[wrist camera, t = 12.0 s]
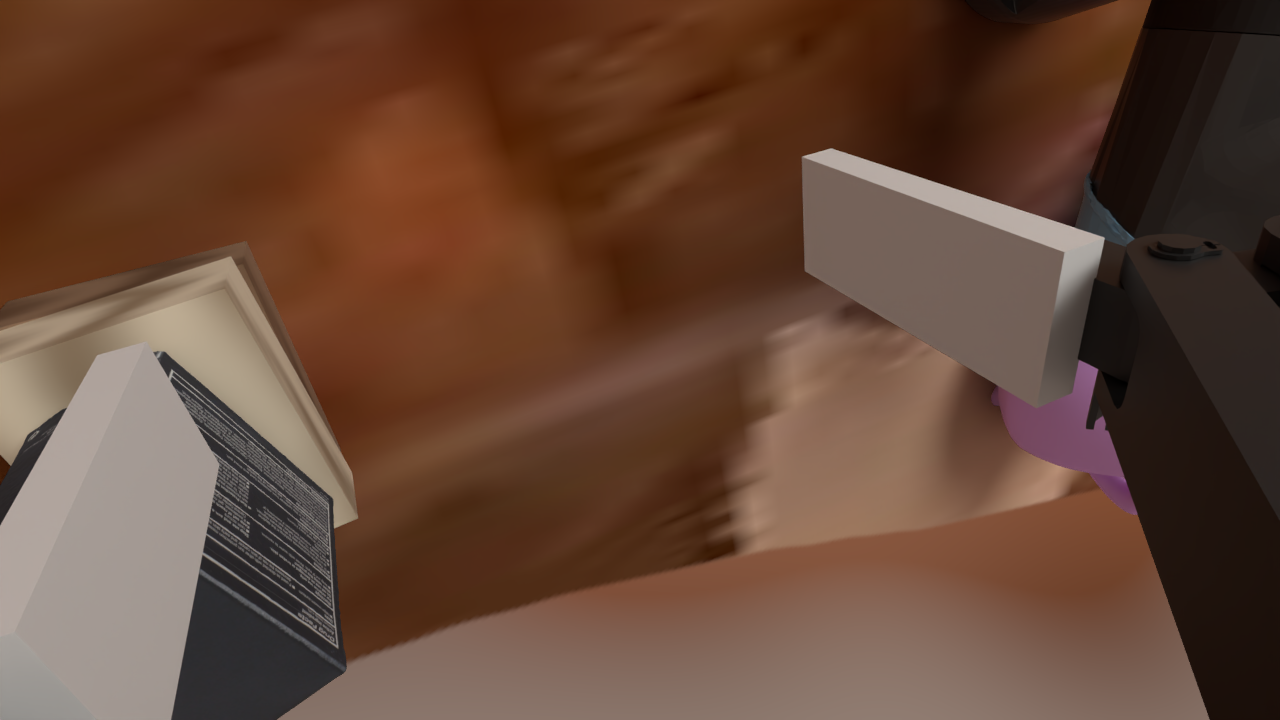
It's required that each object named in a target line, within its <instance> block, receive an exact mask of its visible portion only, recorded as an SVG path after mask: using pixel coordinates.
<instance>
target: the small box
mask: <svg viewBox="0 0 1280 720" xmlns="http://www.w3.org/2000/svg"><path fill="white" fill-rule="evenodd" d="M153 353H154V355H155V356H156V358H157V360H158V361H159V363H160V365H161V366H162V368H163V370H164V371H165V373H166V375H167V377H168V378H169V380H170V382H171V383H172V385H173V387H174V388H175V390H176V392H177V393H178V395H179V397H180V398H181V400H182V402H183V404H184V405H185V407H186V409H187V410H188V412H189V414H190V415H191V417H192V419H193V420H194V422H195V424H196V426H197V427H198V429H199V431H200V432H201V434H202V436H203V437H204V439H205V441H206V442H207V444H208V446H209V448H210V449H211V451H212V453H213V454H214V456H215V458H216V459H217V461H218V463H219V469H218V474H217V480H216V485H215V490H214V496H213V501H212V506H211V511H210V517H209V522H208V527H207V532H206V538H205V543H204V548H203V554H202V559H201V564H200V569H199V575H198V580H197V585H196V591H195V596H194V601H193V606H192V612H191V617H190V622H189V627H188V633H187V638H186V643H185V649H184V654H183V659H182V664H181V670H180V675H179V680H178V686H177V691H176V696H175V701H174V707H173V712H172V717H171V720H277V719H278V718H279V717H281V716H282V715H284V714H285V713H287V712H288V711H290V710H291V709H292V708H294V707H295V706H297V705H298V704H299V703H301V702H302V701H304V700H305V699H307V698H308V697H309V696H311V695H312V694H314V693H315V692H317V691H318V690H319V689H321V688H322V687H324V686H325V685H326V684H328V683H329V682H331V681H332V680H334V679H335V678H337V677H338V676H340V675H342V674H343V673H344V672H345V671H346V667H347V666H346V656H345V651H344V648H343V638H342V631H341V621H340V610H339V596H338V594H339V591H338V581H337V566H336V550H335V536H334V513H333V506H334V501H333V498H332V497H331V496H330V495H328V494H327V493H326V492H325V491H324V490H323V489H322V488H321V487H319V486H318V485H317V484H316V483H315V482H314V481H313V480H312V479H311V478H309V477H308V476H307V475H306V474H305V473H303V472H302V471H301V470H300V469H299V468H298V467H297V466H295V465H294V464H293V463H292V462H291V461H290V460H289V459H288V458H287V457H286V456H285V455H283V454H282V453H281V452H279V451H278V450H277V449H276V448H275V447H274V446H273V445H272V444H271V443H269V442H268V441H267V440H266V439H265V438H263V437H262V436H261V435H260V434H259V433H258V432H257V431H255V430H254V429H253V428H252V427H251V426H250V425H249V424H248V423H246V422H245V421H244V420H243V419H242V418H241V417H240V416H238V415H237V414H236V413H235V412H234V411H233V410H231V409H230V408H229V407H228V406H227V405H226V404H225V403H224V402H222V401H221V400H220V399H219V398H218V397H217V396H215V395H214V394H213V393H212V392H211V391H210V390H209V389H208V388H206V387H205V386H204V385H203V384H202V383H201V382H199V381H198V380H197V379H196V378H195V377H194V376H192V375H191V374H190V373H189V372H188V371H186V370H185V369H184V368H183V367H182V366H181V365H179V364H178V363H177V362H176V361H175V360H173V359H172V358H171V357H170V356H169V355H168V354H167V353H166V352H164V351H157V352H153ZM66 409H67V408H65V409H62V410H60V411H59V412H58V413H56V414H55V415H54V416H52V417H51V418H49V419H48V420H47V421H46V422H44V423H43V424H42V425H41V426H40V427H38V428H37V429H35V430H34V431H32V432H30V433H29V434H28V435H27V437H26V439H25V441H24V443H23V445H22V447H21V449H20V450H19V452H18V454H17V456H16V458H15V460H14V462H13V463H12V465H11V467H10V469H9V471H8V473H7V474H6V476H5V478H4V480H3V481H2V483H1V485H0V525H1V523H2V522H3V520H4V518H5V516H6V514H7V513H8V511H9V509H10V507H11V506H12V504H13V502H14V500H15V499H16V497H17V495H18V493H19V492H20V490H21V488H22V486H23V485H24V483H25V481H26V479H27V478H28V476H29V474H30V472H31V471H32V469H33V467H34V465H35V464H36V462H37V460H38V458H39V457H40V455H41V453H42V451H43V449H44V448H45V446H46V444H47V442H48V441H49V439H50V437H51V435H52V434H53V432H54V430H55V428H56V427H57V425H58V423H59V421H60V420H61V418H62V416H63V414H64V413H65V411H66Z"/></svg>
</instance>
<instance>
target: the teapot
mask: <svg viewBox="0 0 1280 720" xmlns="http://www.w3.org/2000/svg"><path fill="white" fill-rule="evenodd" d="M1097 372H1098V369H1097V368H1095V367H1093V366H1090V365H1088V364H1086V363H1084V362H1082V361H1080V360H1079V363H1078V368H1077V372H1076V377H1075V382H1074V387H1073V391H1072V393H1071V394H1069V395H1066V396H1064V397H1062V398H1059V399H1057V400H1055V401H1052V402H1050V403H1048V404H1045V405H1043V406H1041V407H1038V408H1035V407H1033V406H1031V405H1030V404H1028V403H1026V402H1025V401H1023V400H1021V399H1020V398H1018V397H1016V396H1015V395H1013V394H1011V393H1010V392H1008V391H1006V390H1005V389H1003V388H1001V387H999V386H998V385H997V386H996V387H995V389H994V391H993V393H992V396H991V401H992V404H993V405H995V406H1000V409H1001V413H1002V417H1003V420H1004V423H1005V425H1006V428H1007V430H1008V432H1009V434H1010V436H1011V438H1012V439H1013V440H1014V441H1015V443H1016V444H1017V445H1018V446H1019V447H1020V448H1022V449H1024V450H1025V451H1027V452H1029V453H1030V454H1032V455H1034V456H1036V457H1039V458H1041V459H1043V460H1045V461H1048V462H1050V463H1053V464H1056V465H1058V466H1062V467H1065V468H1069V469H1073V470H1078V471H1083V472H1088V473H1089V474H1090V475H1091V476H1092V478H1093V479H1094V480H1095V482H1096V483H1097V484H1098V486H1099V487H1100V488H1101V489H1102V491H1103V492H1104V493H1105V494H1106V495H1107V496H1108V497H1109V498H1110V499H1111V500H1112V501H1113V502H1114V503H1115V504H1116V505H1117V506H1119V507H1120V508H1121V509H1123V510H1124V511H1126V512H1128V513H1130V514H1135V515H1136V514H1137V511H1136V508H1135V505H1134V503H1133V500H1132V497H1131V494H1130V491H1129V488H1128V486H1127V483H1126V480H1125V479H1124V478H1123V477H1124V474H1123V471H1122V468H1121V466H1120V463H1119V460H1118V457H1117V454H1116V451H1115V449H1114V446H1113V443H1112V440H1111V437H1110V434H1109V432H1108V431H1106V430H1105V426H1106V423H1105V420H1104V417H1103V416H1102V417H1101V418H1099V419H1098V420H1096V422H1095V426H1094V430H1090V429H1086V420H1087V416H1088V411H1089V407H1090V403H1091V398H1092V394H1093V390H1094V385H1095V381H1096V376H1097ZM1137 515H1138V514H1137Z"/></svg>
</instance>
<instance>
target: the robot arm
mask: <svg viewBox="0 0 1280 720" xmlns="http://www.w3.org/2000/svg"><path fill="white" fill-rule="evenodd" d="M965 1H966V2H967V3H968V4H969V5H970V6H971V7H972V8H973V9H974V10H975V11H976V12H978V13H979V14H981V15H982V16H984V17H986V18H988V19H990V20H994V21H998V22H1005V23H1021V24H1038V23H1046V22H1051V21H1055V20H1058V19H1061V18H1064V17H1067V16H1070V15H1073V14H1077V13H1080V12H1083V11H1086V10H1089V9H1092V8H1095V7H1099V6H1102V5H1105V4H1108V3H1111V2H1114V1H1117V0H965ZM802 183H803V221H804V260H805V272H807V273H809V274H811V275H812V276H814V277H816V278H817V279H819V280H821V281H822V282H824V283H826V284H827V285H829V286H831V287H832V288H834V289H836V290H837V291H839V292H841V293H843V294H844V295H846V296H848V297H849V298H851V299H853V300H854V301H856V302H858V303H859V304H861V305H863V306H864V307H866V308H868V309H870V310H871V311H873V312H875V313H876V314H878V315H880V316H881V317H883V318H885V319H886V320H888V321H890V322H891V323H893V324H895V325H897V326H898V327H900V328H902V329H903V330H905V331H907V332H908V333H910V334H912V335H913V336H915V337H917V338H918V339H920V340H922V341H924V342H925V343H927V344H929V345H930V346H932V347H934V348H935V349H937V350H939V351H940V352H942V353H944V354H945V355H947V356H949V357H951V358H952V359H954V360H956V361H957V362H959V363H961V364H962V365H964V366H966V367H967V368H969V369H971V370H972V371H974V372H976V373H978V374H979V375H981V376H983V377H984V378H986V379H988V380H989V381H991V382H993V383H994V384H996V385H998V386H999V387H1001V388H1003V389H1005V390H1006V391H1008V392H1010V393H1011V394H1013V395H1015V396H1016V397H1018V398H1020V399H1021V400H1023V401H1025V402H1026V403H1028V404H1030V405H1031V406H1033V407H1035V408H1038V407H1041V406H1043V405H1045V404H1048V403H1050V402H1052V401H1055V400H1057V399H1059V398H1062V397H1064V396H1066V395H1069V394H1071V393H1072V391H1073V387H1074V382H1075V377H1076V372H1077V368H1078V363H1079V360H1080V361H1082V362H1084V363H1086V364H1088V365H1090V366H1093V367H1095V368H1097V369H1098V372H1097V376H1096V381H1095V385H1094V390H1093V394H1092V398H1091V403H1090V407H1089V411H1088V416H1087V420H1086V429H1090V430H1094V426H1095V422H1096V420H1098V419H1099V418H1101V417H1102V416H1103V417H1104V420H1105V423H1106V426H1105V430H1106V431H1108V432H1109V434H1110V437H1111V440H1112V443H1113V446H1114V449H1115V451H1116V454H1117V457H1118V460H1119V463H1120V466H1121V468H1122V471H1123V474H1124V477H1125V480H1126V483H1127V486H1128V488H1129V491H1130V494H1131V497H1132V500H1133V503H1134V505H1135V508H1136V511H1137V514H1138V517H1139V520H1140V523H1141V525H1142V528H1143V531H1144V534H1145V536H1146V540H1147V542H1148V545H1149V548H1150V551H1151V554H1152V557H1153V559H1154V562H1155V565H1156V568H1157V571H1158V574H1159V577H1160V579H1161V582H1162V585H1163V588H1164V591H1165V594H1166V596H1167V599H1168V602H1169V605H1170V608H1171V611H1172V614H1173V616H1174V619H1175V622H1176V625H1177V628H1178V631H1179V633H1180V636H1181V639H1182V642H1183V645H1184V647H1185V650H1186V653H1187V656H1188V659H1189V662H1190V665H1191V667H1192V670H1193V673H1194V676H1195V679H1196V682H1197V685H1198V687H1199V690H1200V693H1201V696H1202V699H1203V702H1204V705H1205V707H1206V710H1207V713H1208V716H1209V719H1210V720H1280V0H1152V1H1151V4H1150V6H1149V9H1148V12H1147V15H1146V18H1145V21H1144V24H1143V26H1142V28H1141V31H1140V34H1139V37H1138V40H1137V43H1136V46H1135V49H1134V52H1133V54H1132V57H1131V60H1130V63H1129V66H1128V69H1127V72H1126V75H1125V78H1124V81H1123V84H1122V87H1121V89H1120V92H1119V95H1118V98H1117V101H1116V104H1115V107H1114V110H1113V112H1112V115H1111V118H1110V121H1109V123H1108V126H1107V129H1106V132H1105V134H1104V137H1103V140H1102V143H1101V145H1100V148H1099V151H1098V154H1097V156H1096V159H1095V162H1094V165H1093V167H1092V169H1091V170H1090V171H1089V173H1088V174H1087V176H1086V178H1085V181H1084V192H1085V194H1084V198H1083V202H1082V205H1081V209H1080V212H1079V216H1078V219H1077V222H1076V226H1075V228H1074V227H1071V226H1068V225H1064V224H1061V223H1058V222H1055V221H1052V220H1049V219H1046V218H1043V217H1040V216H1037V215H1034V214H1031V213H1028V212H1025V211H1022V210H1018V209H1015V208H1012V207H1009V206H1006V205H1003V204H1000V203H997V202H994V201H991V200H988V199H985V198H982V197H979V196H976V195H973V194H969V193H966V192H963V191H960V190H957V189H954V188H951V187H948V186H945V185H942V184H939V183H936V182H933V181H930V180H927V179H924V178H920V177H917V176H914V175H911V174H908V173H905V172H902V171H899V170H896V169H893V168H890V167H887V166H884V165H881V164H878V163H875V162H871V161H868V160H865V159H862V158H859V157H856V156H853V155H850V154H847V153H844V152H841V151H838V150H835V149H832V148H831V149H828V150H824V151H821V152H817V153H813V154H810V155H806V156H803V157H802ZM218 469H219V463H218V461H217V459H216V458H215V456H214V454H213V453H212V451H211V449H210V448H209V446H208V444H207V442H206V441H205V439H204V437H203V436H202V434H201V432H200V431H199V429H198V427H197V426H196V424H195V422H194V420H193V419H192V417H191V415H190V414H189V412H188V410H187V409H186V407H185V405H184V404H183V402H182V400H181V398H180V397H179V395H178V393H177V392H176V390H175V388H174V387H173V385H172V383H171V382H170V380H169V378H168V377H167V375H166V373H165V371H164V370H163V368H162V366H161V365H160V363H159V361H158V360H157V358H156V356H155V355H154V353H153V351H152V349H151V348H150V346H149V344H148V343H147V341H146V342H142V343H139V344H135V345H132V346H128V347H125V348H121V349H118V350H114V351H110V352H107V353H103V354H100V355H97V356H96V358H95V360H94V362H93V363H92V365H91V367H90V369H89V370H88V372H87V374H86V376H85V377H84V379H83V381H82V383H81V384H80V386H79V388H78V390H77V392H76V393H75V395H74V397H73V399H72V400H71V402H70V404H69V406H68V407H67V409H66V411H65V413H64V414H63V416H62V418H61V420H60V421H59V423H58V425H57V427H56V428H55V430H54V432H53V434H52V435H51V437H50V439H49V441H48V442H47V444H46V446H45V448H44V449H43V451H42V453H41V455H40V457H39V458H38V460H37V462H36V464H35V465H34V467H33V469H32V471H31V472H30V474H29V476H28V478H27V479H26V481H25V483H24V485H23V486H22V488H21V490H20V492H19V493H18V495H17V497H16V499H15V500H14V502H13V504H12V506H11V507H10V509H9V511H8V513H7V514H6V516H5V518H4V520H3V522H2V523H1V525H0V720H171V717H172V712H173V707H174V701H175V696H176V691H177V686H178V680H179V675H180V670H181V664H182V659H183V654H184V649H185V643H186V638H187V633H188V627H189V622H190V617H191V612H192V606H193V601H194V596H195V591H196V585H197V580H198V575H199V569H200V564H201V559H202V554H203V548H204V543H205V538H206V532H207V527H208V522H209V517H210V511H211V506H212V501H213V496H214V490H215V485H216V480H217V474H218Z"/></svg>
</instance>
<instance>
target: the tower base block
mask: <svg viewBox="0 0 1280 720" xmlns="http://www.w3.org/2000/svg"><path fill="white" fill-rule="evenodd" d="M230 256H231V257H232V259H233V261H234V263H235V264H236V266H237V268H238V270H239V271H240V273H241V275H242V277H243V279H244V280H245V282H246V284H247V286H248V288H249V289H250V291H251V293H252V295H253V296H254V298H255V300H256V302H257V304H258V305H259V307H260V309H261V311H262V313H263V314H264V316H265V318H266V320H267V322H268V323H269V325H270V327H271V329H272V330H273V332H274V334H275V336H276V338H277V339H278V341H279V343H280V345H281V347H282V348H283V350H284V352H285V354H286V355H287V357H288V359H289V361H290V363H291V364H292V366H293V368H294V370H295V372H296V373H297V375H298V377H299V379H300V380H301V382H302V384H303V386H304V388H305V389H306V391H307V393H308V395H309V397H310V398H311V400H312V402H313V404H314V406H315V407H316V409H317V411H318V413H319V414H320V416H321V418H322V420H323V422H324V423H325V425H326V427H327V429H328V431H329V432H330V434H331V436H332V438H333V439H334V441H335V443H336V445H337V447H338V448H339V450H340V452H341V449H340V447H339V445H338V442H337V440H336V438H335V436H334V434H333V431H332V429H331V427H330V425H329V423H328V420H327V418H326V416H325V414H324V412H323V409H322V407H321V405H320V403H319V400H318V398H317V396H316V394H315V392H314V389H313V387H312V385H311V383H310V381H309V378H308V376H307V374H306V372H305V370H304V367H303V365H302V363H301V361H300V359H299V356H298V354H297V352H296V350H295V348H294V345H293V343H292V341H291V339H290V336H289V334H288V332H287V330H286V328H285V325H284V323H283V321H282V319H281V317H280V314H279V312H278V310H277V308H276V306H275V303H274V301H273V299H272V297H271V295H270V292H269V290H268V288H267V286H266V283H265V281H264V279H263V277H262V275H261V272H260V270H259V268H258V266H257V264H256V261H255V259H254V257H253V255H252V253H251V250H250V248H249V246H248V244H247V242H246V241H245V242H241V243H237V244H233V245H229V246H225V247H221V248H217V249H213V250H209V251H205V252H202V253H198V254H194V255H190V256H186V257H182V258H178V259H174V260H170V261H166V262H162V263H158V264H154V265H150V266H146V267H142V268H138V269H134V270H131V271H127V272H123V273H119V274H115V275H111V276H107V277H103V278H99V279H95V280H91V281H87V282H83V283H79V284H75V285H71V286H67V287H63V288H59V289H56V290H52V291H48V292H44V293H40V294H36V295H32V296H28V297H24V298H20V299H16V300H12V301H8V302H7V303H6V304H5V305H4V306H3V307H2V309H1V310H0V331H1V330H4V329H8V328H11V327H14V326H17V325H20V324H23V323H26V322H29V321H32V320H35V319H38V318H42V317H45V316H48V315H51V314H54V313H57V312H60V311H63V310H66V309H69V308H72V307H76V306H79V305H82V304H85V303H88V302H91V301H94V300H97V299H100V298H103V297H107V296H110V295H113V294H116V293H119V292H122V291H125V290H128V289H131V288H134V287H137V286H141V285H144V284H147V283H150V282H153V281H156V280H159V279H162V278H165V277H168V276H172V275H175V274H178V273H181V272H184V271H187V270H190V269H193V268H196V267H199V266H203V265H206V264H209V263H212V262H215V261H218V260H221V259H224V258H227V257H230Z"/></svg>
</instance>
